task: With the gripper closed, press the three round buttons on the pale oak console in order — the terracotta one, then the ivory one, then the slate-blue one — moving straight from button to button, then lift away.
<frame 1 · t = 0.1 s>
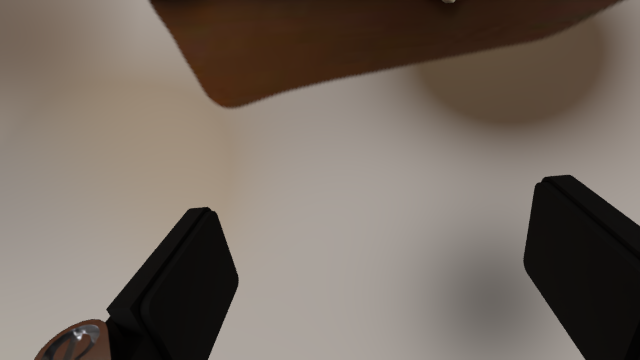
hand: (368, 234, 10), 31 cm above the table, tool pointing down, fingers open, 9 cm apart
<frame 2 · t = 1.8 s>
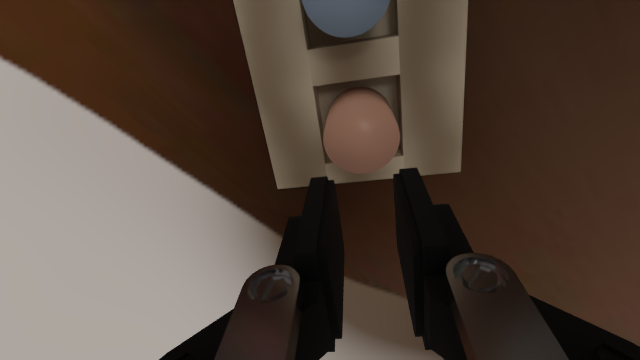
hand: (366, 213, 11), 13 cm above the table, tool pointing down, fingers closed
button terracotta: (360, 128, 19), point 4 cm above the table, slide at 0.0 cm
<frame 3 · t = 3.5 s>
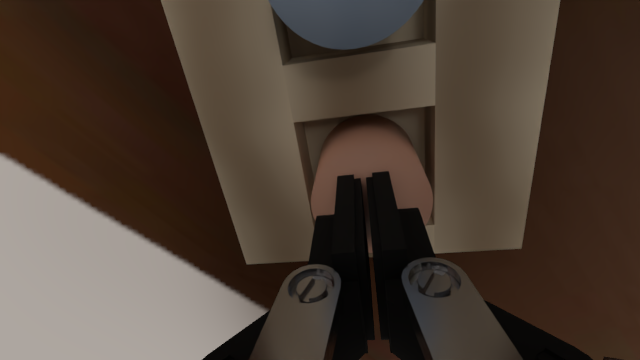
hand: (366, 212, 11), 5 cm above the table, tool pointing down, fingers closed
button terracotta: (368, 179, 13), point 3 cm above the table, slide at 0.9 cm, touching gripper
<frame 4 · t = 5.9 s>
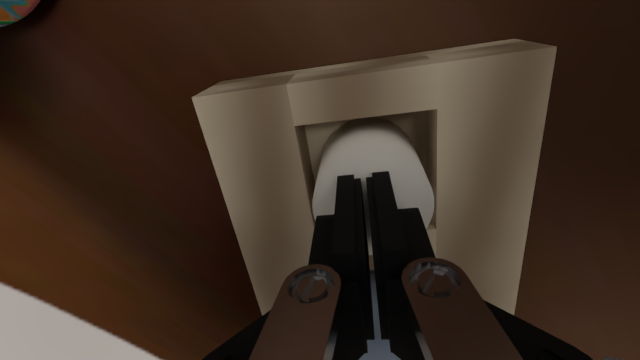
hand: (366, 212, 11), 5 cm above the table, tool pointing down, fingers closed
button slate: (383, 330, 15), point 4 cm above the table, slide at 0.0 cm
console: (377, 266, 18), on the table
button ivory: (369, 182, 13), point 3 cm above the table, slide at 1.0 cm, touching gripper
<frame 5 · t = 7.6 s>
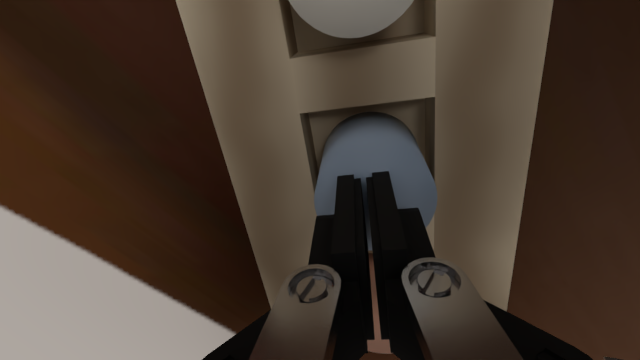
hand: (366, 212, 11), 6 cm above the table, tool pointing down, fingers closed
button slate: (371, 177, 12), point 4 cm above the table, slide at 0.2 cm, touching gripper
console: (368, 139, 16), on the table
button terracotta: (382, 293, 16), point 3 cm above the table, slide at 1.0 cm
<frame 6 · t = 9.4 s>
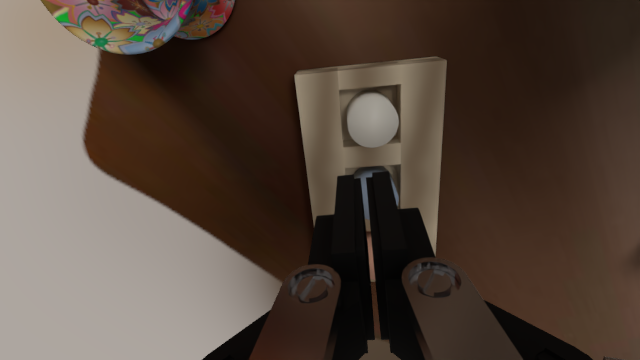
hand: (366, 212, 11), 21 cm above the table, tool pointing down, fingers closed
button slate: (373, 191, 31), point 3 cm above the table, slide at 1.0 cm
console: (370, 177, 33), on the table
button ivory: (370, 117, 28), point 3 cm above the table, slide at 1.0 cm
button terracotta: (375, 252, 34), point 3 cm above the table, slide at 1.0 cm
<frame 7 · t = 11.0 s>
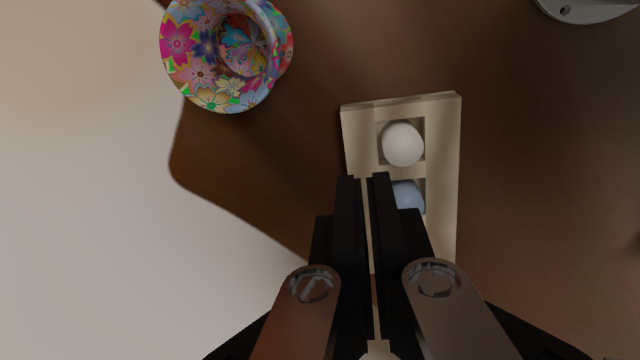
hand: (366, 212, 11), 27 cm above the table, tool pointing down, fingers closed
button slate: (403, 199, 38), point 3 cm above the table, slide at 1.0 cm
console: (399, 186, 41), on the table
button ivory: (401, 142, 35), point 3 cm above the table, slide at 1.0 cm
multicolour ceramic cup: (253, 28, 34), on the table
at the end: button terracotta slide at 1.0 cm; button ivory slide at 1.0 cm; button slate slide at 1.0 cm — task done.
